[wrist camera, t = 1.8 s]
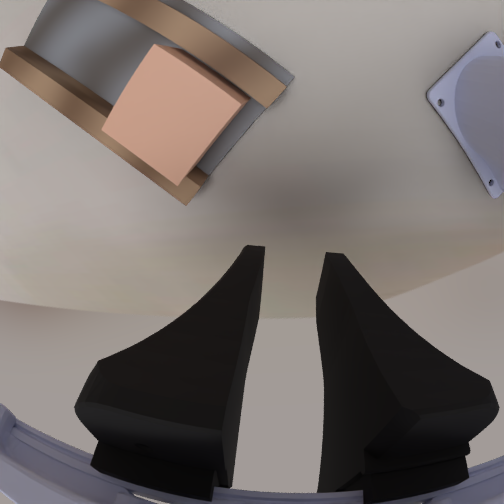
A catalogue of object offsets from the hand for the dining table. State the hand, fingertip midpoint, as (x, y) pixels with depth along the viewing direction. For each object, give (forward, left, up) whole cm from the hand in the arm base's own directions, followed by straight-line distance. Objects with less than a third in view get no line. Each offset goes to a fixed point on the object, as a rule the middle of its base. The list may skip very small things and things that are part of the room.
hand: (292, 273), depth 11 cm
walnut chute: (+13, 0, -9) cm, 16 cm away
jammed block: (+8, 0, -9) cm, 12 cm away
